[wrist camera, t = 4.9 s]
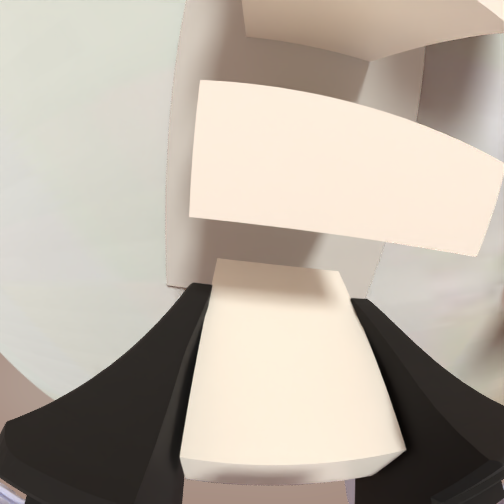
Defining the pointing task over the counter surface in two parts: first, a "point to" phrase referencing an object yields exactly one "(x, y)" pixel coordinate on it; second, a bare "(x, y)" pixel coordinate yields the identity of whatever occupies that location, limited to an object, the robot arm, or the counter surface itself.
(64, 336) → the counter surface
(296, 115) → the tile
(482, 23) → the tile
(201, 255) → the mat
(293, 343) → the tile
